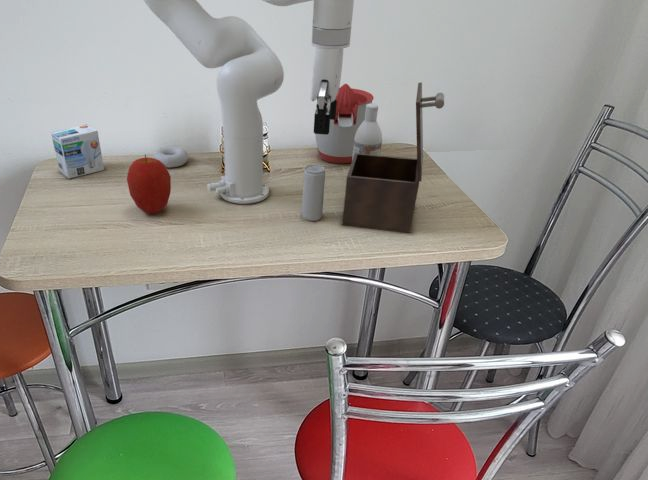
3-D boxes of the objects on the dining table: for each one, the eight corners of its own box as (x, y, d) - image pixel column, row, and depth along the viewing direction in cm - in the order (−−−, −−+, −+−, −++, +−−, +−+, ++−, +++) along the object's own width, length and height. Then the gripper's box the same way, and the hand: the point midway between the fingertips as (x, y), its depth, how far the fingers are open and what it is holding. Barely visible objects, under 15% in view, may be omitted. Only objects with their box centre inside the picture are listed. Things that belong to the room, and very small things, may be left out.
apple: (182, 211, 137) (176, 154, 128) (147, 224, 131) (139, 166, 123) (158, 197, 142) (151, 142, 134) (123, 209, 137) (114, 153, 128)
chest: (342, 225, 132) (347, 176, 124) (349, 199, 143) (354, 152, 135) (409, 233, 129) (419, 183, 121) (412, 205, 140) (421, 158, 132)
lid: (415, 102, 112) (444, 99, 110) (418, 82, 122) (444, 79, 121) (417, 182, 121) (443, 179, 120) (419, 157, 132) (443, 154, 131)
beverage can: (309, 211, 137) (312, 162, 130) (326, 216, 135) (329, 168, 127) (297, 217, 134) (299, 169, 127) (314, 224, 132) (317, 174, 124)
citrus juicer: (313, 169, 157) (317, 93, 144) (311, 146, 170) (315, 75, 158) (369, 170, 157) (379, 94, 144) (363, 147, 170) (372, 76, 157)
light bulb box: (69, 179, 151) (59, 138, 144) (58, 171, 155) (49, 131, 148) (105, 169, 156) (98, 130, 149) (94, 162, 160) (87, 123, 153)
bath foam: (361, 191, 146) (371, 111, 133) (344, 182, 151) (352, 103, 138) (381, 185, 149) (392, 106, 136) (364, 176, 154) (373, 99, 141)
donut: (185, 154, 165) (151, 157, 163) (184, 143, 163) (149, 145, 161) (192, 167, 158) (156, 171, 155) (191, 155, 156) (155, 158, 153)
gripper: (319, 26, 117) (313, 112, 128) (304, 45, 104) (300, 138, 115) (355, 28, 116) (346, 115, 127) (344, 47, 103) (336, 141, 114)
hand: (324, 126), depth 121 cm, fingers open, 9 cm apart
